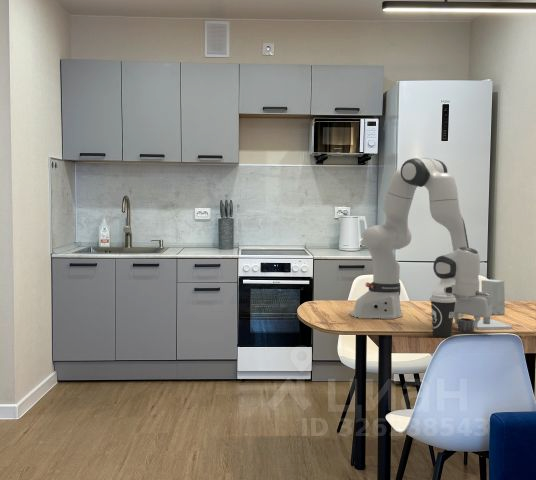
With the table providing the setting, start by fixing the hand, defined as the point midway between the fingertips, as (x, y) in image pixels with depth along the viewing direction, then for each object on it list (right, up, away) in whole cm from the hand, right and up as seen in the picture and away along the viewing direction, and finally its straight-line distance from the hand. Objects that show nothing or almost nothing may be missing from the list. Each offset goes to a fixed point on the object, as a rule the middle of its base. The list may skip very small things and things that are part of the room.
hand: (465, 325), depth 249 cm
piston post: (+11, -1, +9) cm, 14 cm away
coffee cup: (-12, -2, -10) cm, 15 cm away
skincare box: (+23, 0, +37) cm, 43 cm away
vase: (+2, 0, +33) cm, 33 cm away
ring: (0, -2, 0) cm, 2 cm away
